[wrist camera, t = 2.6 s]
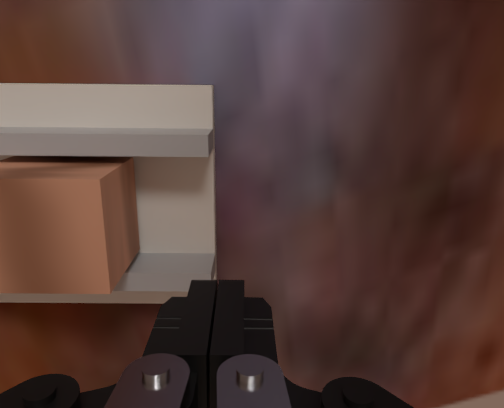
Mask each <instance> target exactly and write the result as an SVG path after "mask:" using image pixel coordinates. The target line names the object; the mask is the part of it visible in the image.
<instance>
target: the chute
mask: <svg viewBox="0 0 504 408" xmlns="http://www.w3.org/2000/svg"><path fill="white" fill-rule="evenodd" d="M12 156H94V157H133V159H134V173H135V188H136V202H137V216H138V230H139V245H140V249H139V251H138V253H137V254H136V256H135V257H134V259H133V260H132V262H131V263H130V265H129V266H128V268H127V269H126V271H125V273H124V274H123V276H122V277H121V279H120V280H119V282H118V283H117V285H116V286H115V288H114V289H113V291H112V293H111V294H32V293H0V302H15V303H155V304H164V303H165V302H166V301H168V300H169V299H170V298H171V297H187V295H188V291H189V287H190V283H191V280H217V250H216V187H215V125H214V85H153V84H41V83H0V160H3V159H6V158H9V157H12Z"/></svg>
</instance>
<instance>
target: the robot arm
mask: <svg viewBox="0 0 504 408" xmlns="http://www.w3.org/2000/svg"><path fill="white" fill-rule="evenodd" d="M0 408H413V407H412V406H410V405H409V404H407V403H405V402H404V401H402V400H401V399H399V398H398V397H396V396H394V395H393V394H391V393H390V392H388V391H387V390H385V389H383V388H382V387H380V386H379V385H377V384H375V383H373V382H371V381H368V380H365V379H362V378H357V377H342V378H338V379H334V380H332V381H330V382H329V383H328V384H326V386H325V387H324V389H323V391H322V393H321V392H317V391H313V390H309V389H306V388H302V387H300V386H298V385H296V384H294V383H292V382H291V381H289V380H288V379H287V378H286V377H285V376H284V375H283V372H282V370H281V368H280V366H279V365H278V360H277V352H276V344H275V335H274V329H273V320H272V310H271V306H270V305H269V304H268V303H267V302H266V301H265V300H264V299H263V298H250V297H244V280H219V284H218V286H217V280H191V283H190V287H189V291H188V295H187V297H171V298H170V299H169V300H168V301H166V302H165V303H164V304H163V305H162V306H161V307H160V310H159V313H158V315H157V319H156V321H155V324H154V328H153V329H152V332H151V334H150V337H149V340H148V342H147V345H146V348H145V351H144V353H143V356H142V357H141V358H139V359H137V360H135V361H133V362H132V363H131V364H129V365H128V366H127V367H126V368H125V370H124V371H123V373H122V375H121V377H120V379H119V381H118V382H117V384H114V385H112V386H109V387H105V388H101V389H96V390H92V391H87V392H83V393H80V388H79V384H78V383H77V381H76V380H75V379H74V378H72V377H70V376H67V375H63V374H47V375H42V376H38V377H34V378H32V379H29V380H27V381H24V382H22V383H20V384H18V385H17V386H15V387H13V388H11V389H9V390H7V391H5V392H3V393H1V394H0Z"/></svg>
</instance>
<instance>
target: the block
mask: <svg viewBox="0 0 504 408" xmlns="http://www.w3.org/2000/svg"><path fill="white" fill-rule="evenodd" d="M139 249H140V245H139V230H138V216H137V202H136V188H135V173H134V159H133V157H94V156H12V157H9V158H6V159H3V160H0V293H32V294H111V293H112V291H113V289H114V288H115V286H116V285H117V283H118V282H119V280H120V279H121V277H122V276H123V274H124V273H125V271H126V269H127V268H128V266H129V265H130V263H131V262H132V260H133V259H134V257H135V256H136V254H137V253H138V251H139Z"/></svg>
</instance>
